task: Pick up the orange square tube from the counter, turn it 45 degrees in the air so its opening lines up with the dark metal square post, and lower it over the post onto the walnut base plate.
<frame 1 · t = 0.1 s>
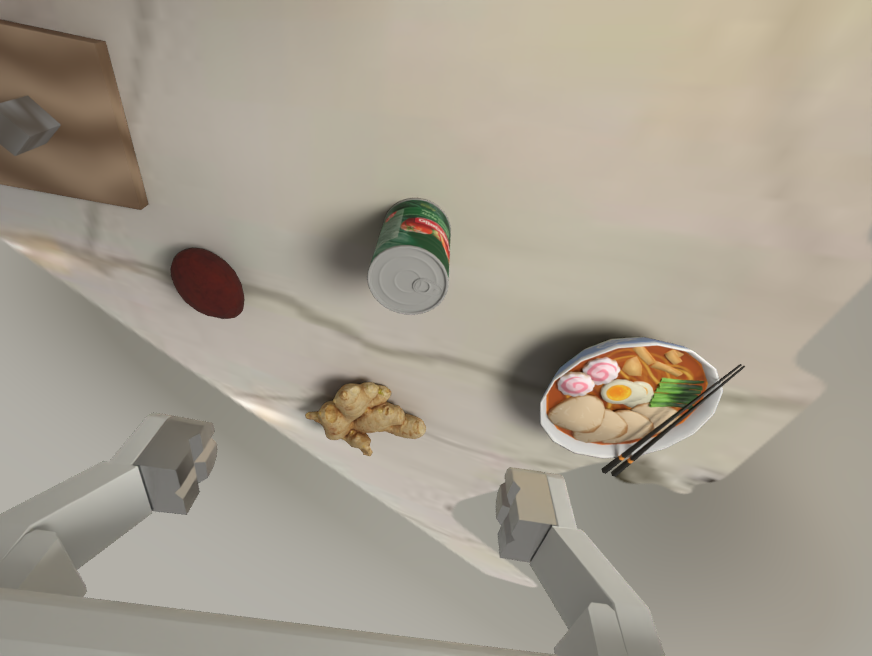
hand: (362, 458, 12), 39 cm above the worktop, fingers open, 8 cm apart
potato: (221, 271, 56), on the worktop
canned tomato: (417, 229, 50), on the worktop
ramen bowl: (611, 368, 63), on the worktop
base plate: (48, 116, 44), on the worktop
ginger root: (364, 400, 70), on the worktop
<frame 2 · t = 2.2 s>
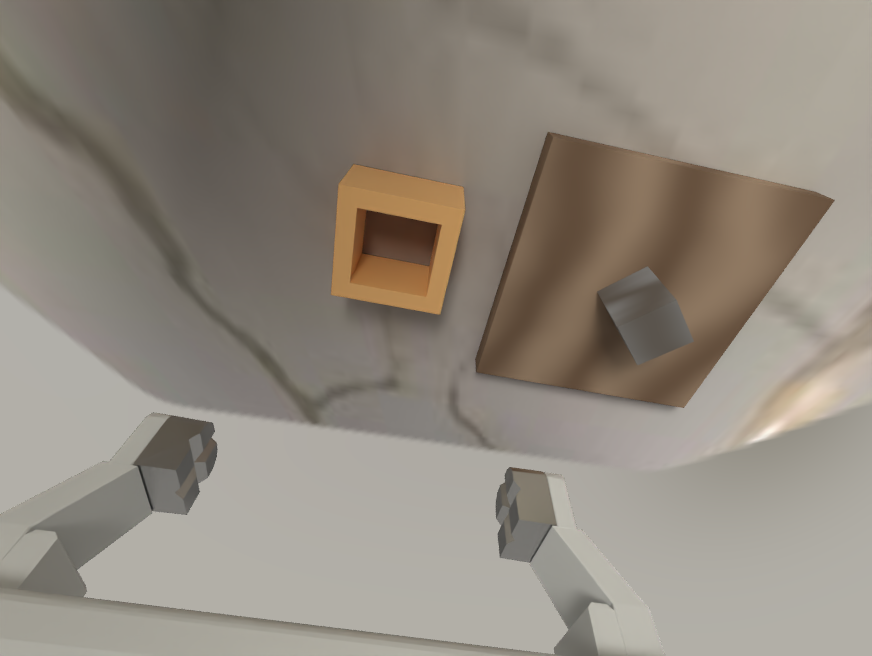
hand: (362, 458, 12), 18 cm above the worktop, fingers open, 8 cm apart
orange square tube: (400, 227, 27), on the worktop
base plate: (623, 286, 28), on the worktop
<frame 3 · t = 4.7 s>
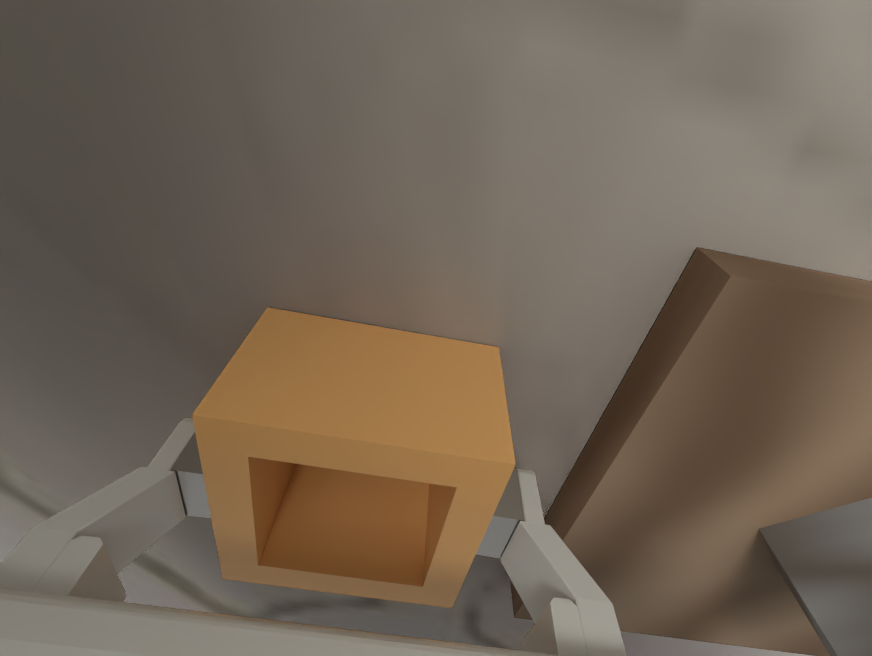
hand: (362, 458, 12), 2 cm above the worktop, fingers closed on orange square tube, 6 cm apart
orange square tube: (373, 410, 14), on the worktop, touching gripper
base plate: (793, 497, 15), on the worktop
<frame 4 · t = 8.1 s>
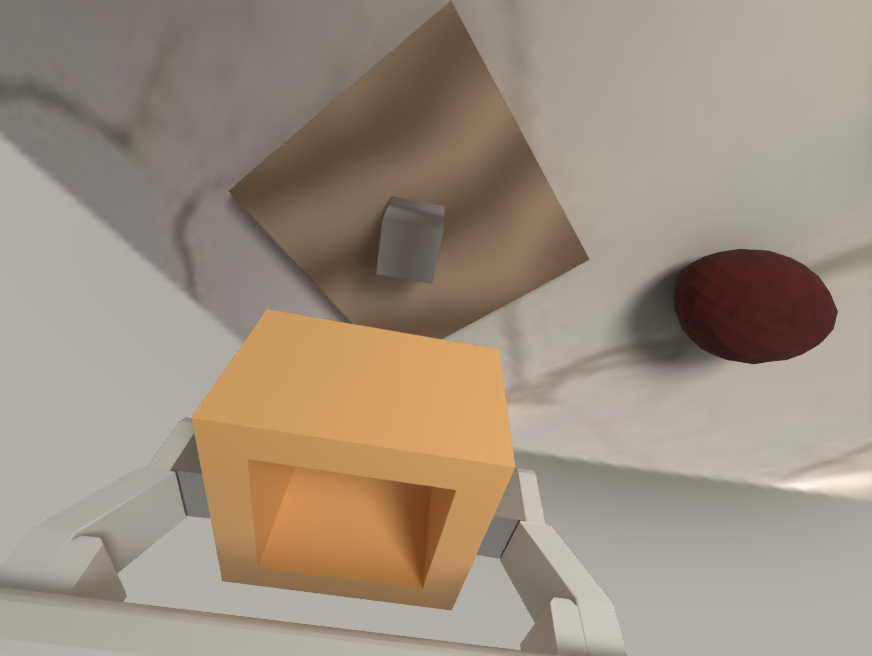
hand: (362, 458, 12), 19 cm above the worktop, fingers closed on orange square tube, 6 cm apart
potato: (724, 285, 30), on the worktop
orange square tube: (373, 412, 14), point 17 cm above the worktop, touching gripper
base plate: (416, 217, 28), on the worktop
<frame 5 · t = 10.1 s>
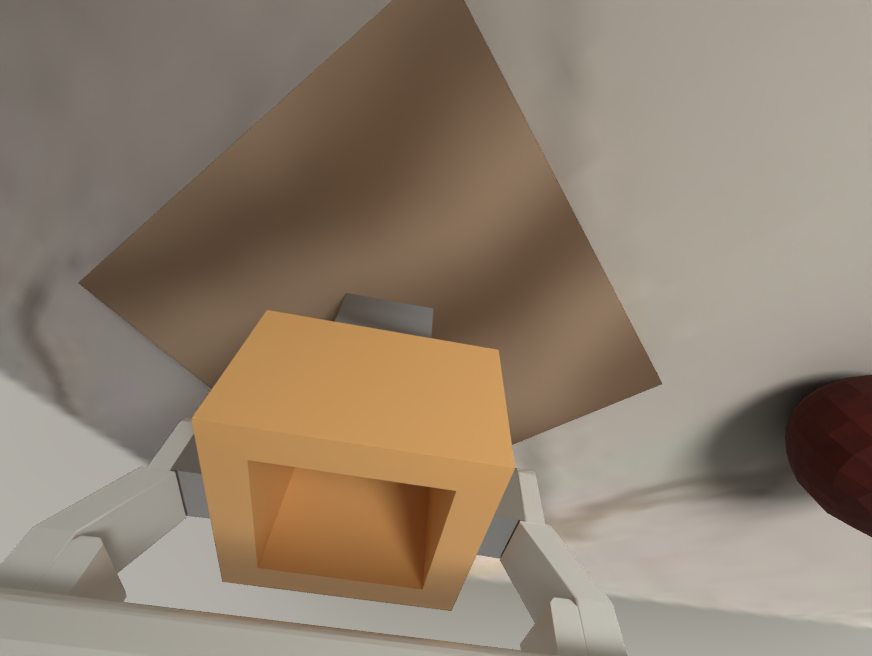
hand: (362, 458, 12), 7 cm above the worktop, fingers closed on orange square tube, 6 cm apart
potato: (854, 406, 20), on the worktop
orange square tube: (373, 412, 14), point 5 cm above the worktop, touching gripper
base plate: (389, 315, 18), on the worktop
when the fingers open (4 cm above the worktop, at t = 11.9 s): orange square tube stays where it is, resting on base plate.
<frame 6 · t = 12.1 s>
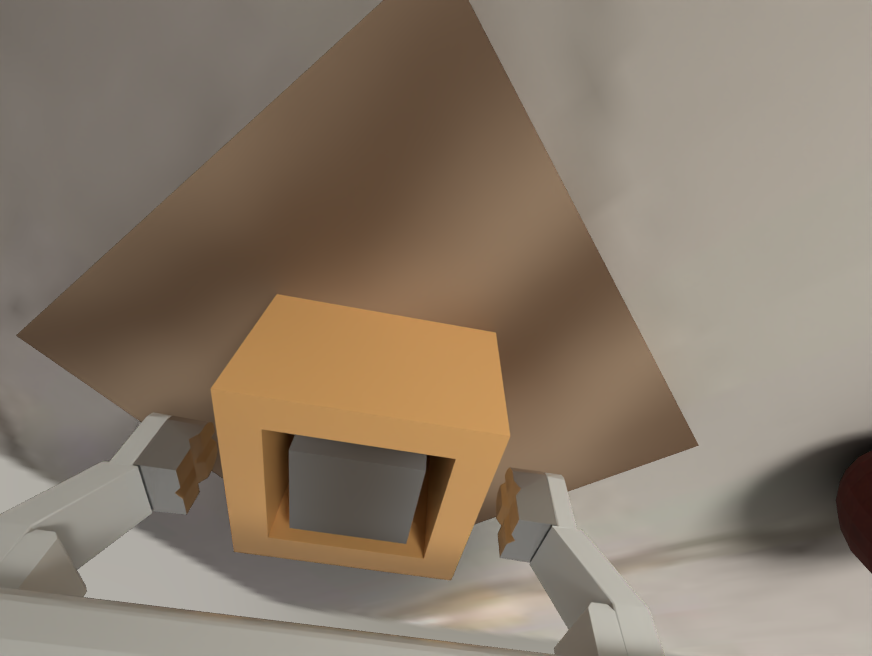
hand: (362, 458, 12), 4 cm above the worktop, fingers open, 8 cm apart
orange square tube: (376, 394, 14), point 1 cm above the worktop, touching base plate
base plate: (382, 365, 15), on the worktop
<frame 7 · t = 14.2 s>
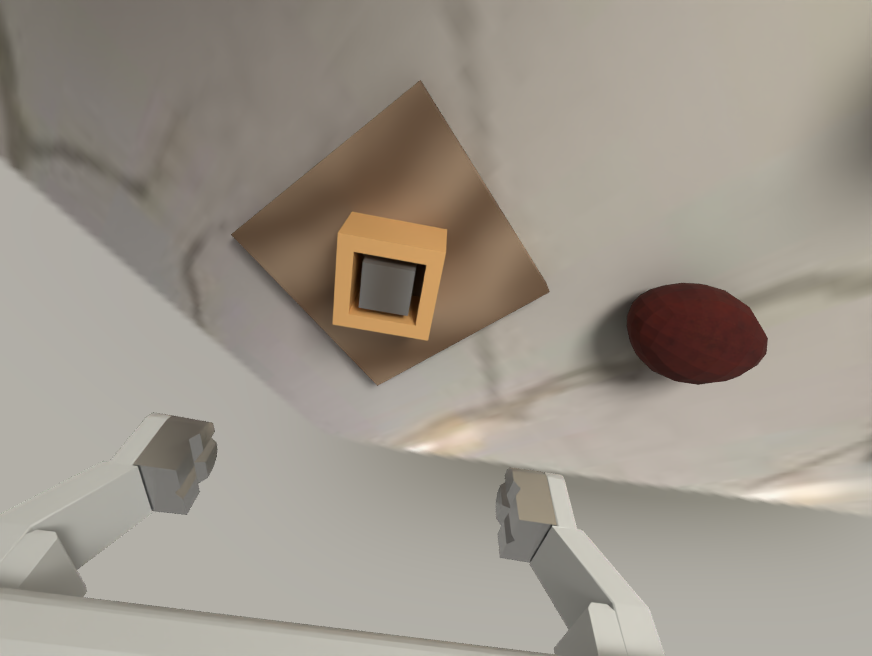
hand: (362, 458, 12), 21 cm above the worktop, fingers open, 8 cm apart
potato: (674, 312, 33), on the worktop
orange square tube: (393, 264, 30), point 1 cm above the worktop, touching base plate
base plate: (396, 255, 32), on the worktop
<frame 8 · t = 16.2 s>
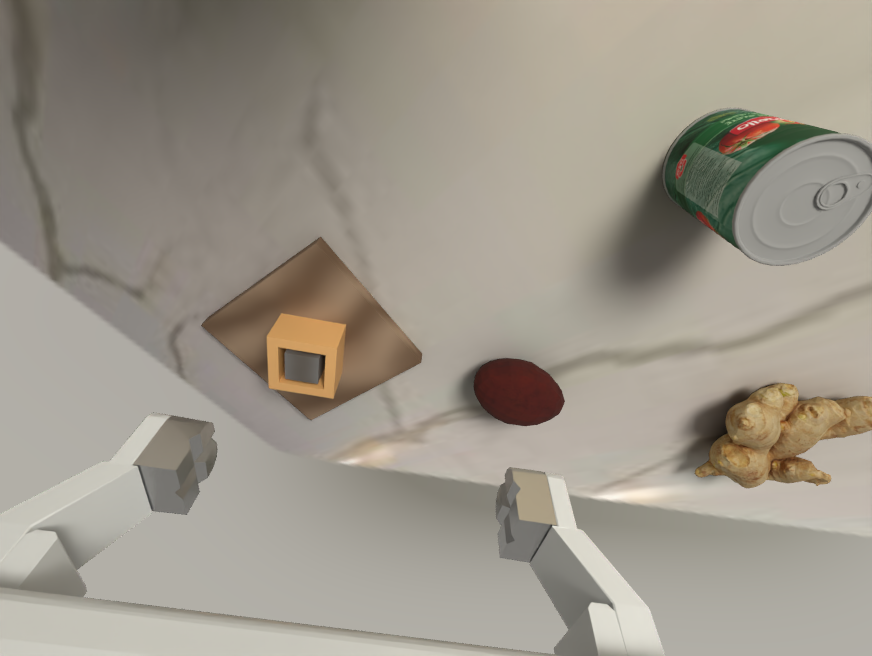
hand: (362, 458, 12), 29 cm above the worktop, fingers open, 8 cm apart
potato: (515, 373, 48), on the worktop
canned tomato: (712, 161, 35), on the worktop
orange square tube: (313, 344, 44), point 1 cm above the worktop, touching base plate
base plate: (316, 335, 46), on the worktop
ginger root: (755, 417, 50), on the worktop
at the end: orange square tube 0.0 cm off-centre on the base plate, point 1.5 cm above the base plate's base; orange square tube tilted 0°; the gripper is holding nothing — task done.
